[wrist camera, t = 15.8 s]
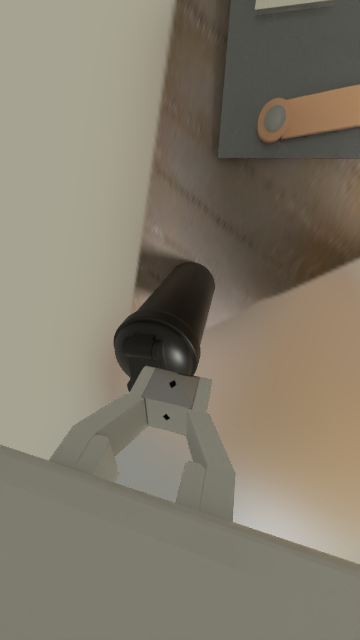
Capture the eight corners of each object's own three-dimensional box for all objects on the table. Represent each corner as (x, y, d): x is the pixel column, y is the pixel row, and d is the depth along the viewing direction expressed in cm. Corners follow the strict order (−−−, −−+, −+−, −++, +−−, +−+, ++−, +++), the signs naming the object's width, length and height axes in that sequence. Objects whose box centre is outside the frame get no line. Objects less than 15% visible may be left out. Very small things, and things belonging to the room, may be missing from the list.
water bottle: (167, 306, 46) (110, 399, 27) (162, 256, 40) (86, 330, 22) (218, 310, 43) (192, 416, 25) (220, 258, 38) (189, 343, 19)
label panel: (628, -225, 15) (692, -291, 12) (432, 159, 26) (448, 158, 24) (243, -128, 20) (242, -163, 17) (219, 158, 31) (216, 157, 29)
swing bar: (256, 145, 28) (256, 141, 24) (258, 110, 26) (258, 100, 22) (430, 116, 23) (466, 106, 19) (446, 71, 21) (488, 50, 17)
